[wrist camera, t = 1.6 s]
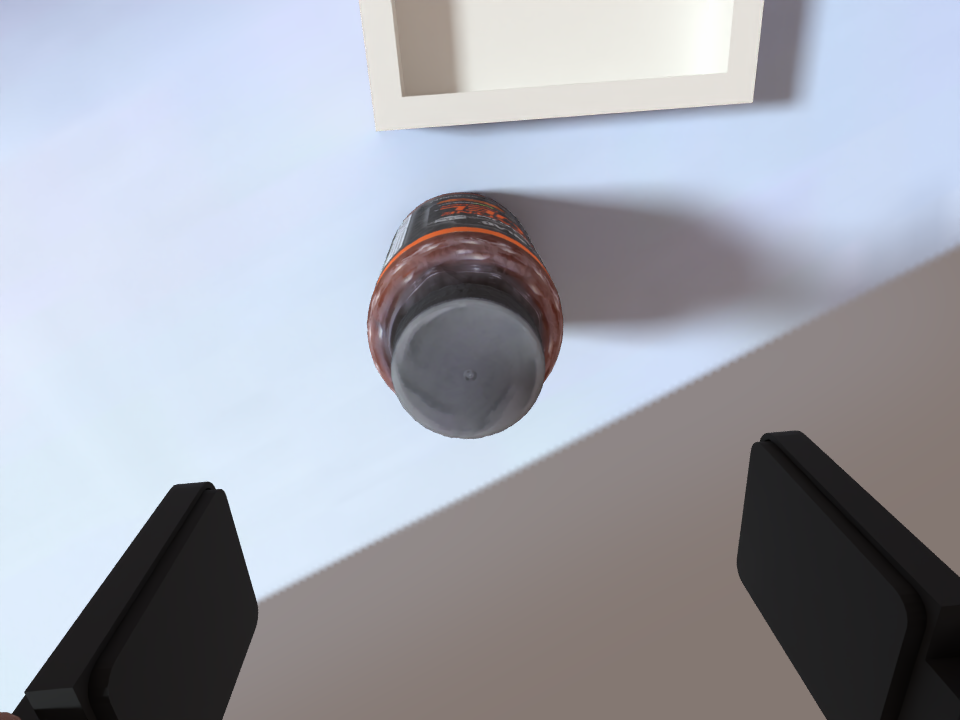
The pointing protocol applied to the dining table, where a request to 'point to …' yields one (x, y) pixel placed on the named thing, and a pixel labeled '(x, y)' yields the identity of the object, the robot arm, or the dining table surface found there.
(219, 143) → the dining table surface
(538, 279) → the supplement bottle
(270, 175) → the dining table surface
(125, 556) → the robot arm
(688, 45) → the tray
